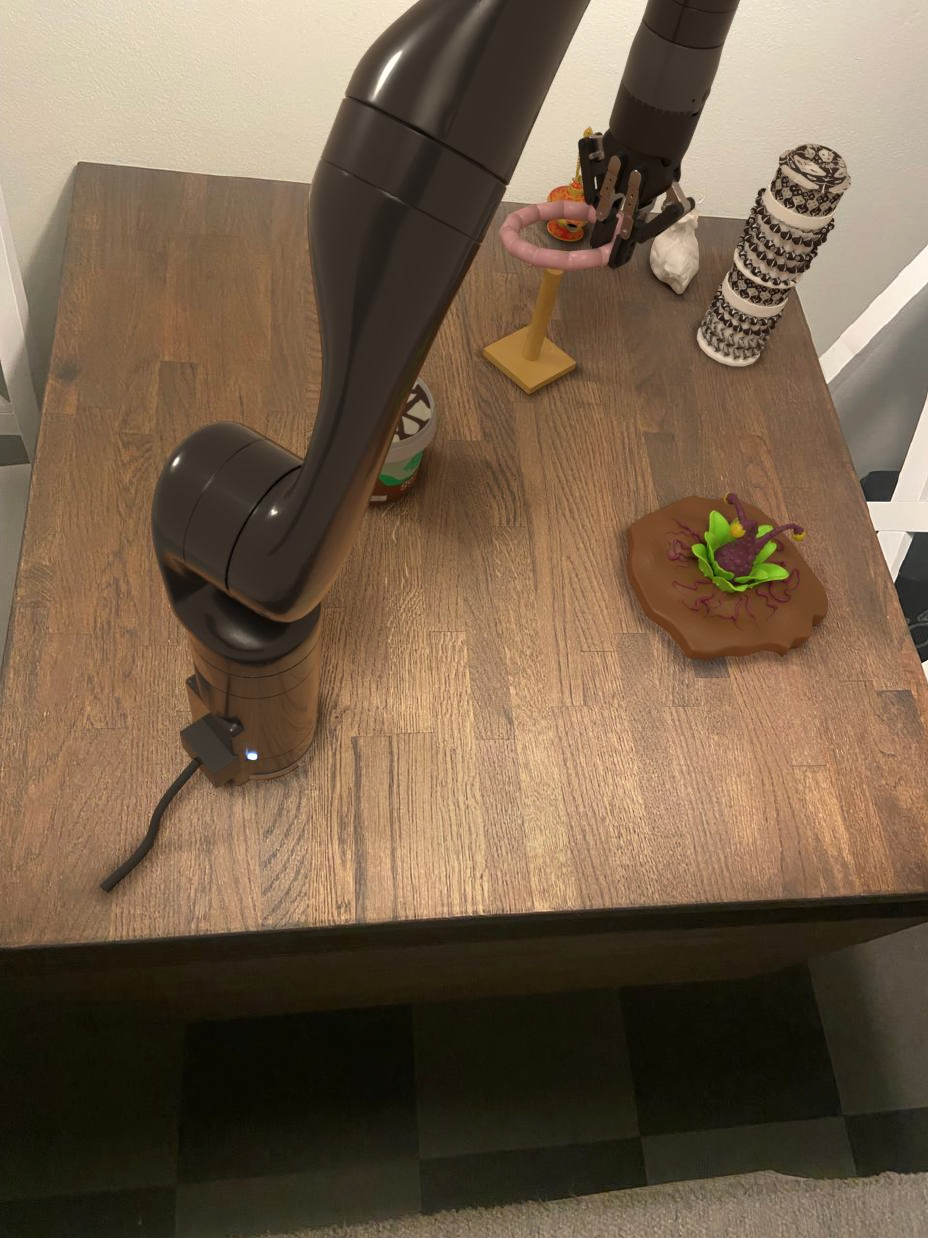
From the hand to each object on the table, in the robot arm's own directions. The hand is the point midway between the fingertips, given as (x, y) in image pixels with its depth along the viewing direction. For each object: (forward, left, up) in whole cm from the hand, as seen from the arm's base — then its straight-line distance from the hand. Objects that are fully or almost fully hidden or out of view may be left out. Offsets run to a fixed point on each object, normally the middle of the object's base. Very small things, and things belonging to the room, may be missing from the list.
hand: (607, 258), depth 93 cm
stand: (0, +6, -18) cm, 19 cm away
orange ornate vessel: (+22, +21, -18) cm, 35 cm away
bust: (+29, +8, -18) cm, 35 cm away
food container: (-25, +1, -18) cm, 31 cm away
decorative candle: (+25, -6, -18) cm, 32 cm away
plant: (-7, -29, -18) cm, 35 cm away
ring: (0, +6, -1) cm, 6 cm away
